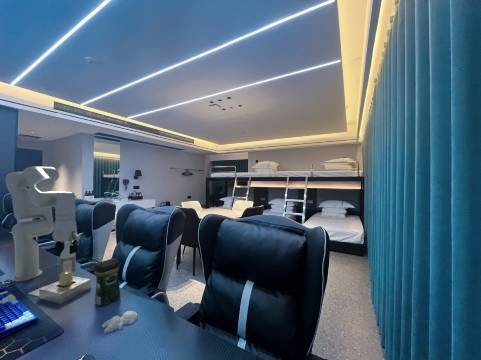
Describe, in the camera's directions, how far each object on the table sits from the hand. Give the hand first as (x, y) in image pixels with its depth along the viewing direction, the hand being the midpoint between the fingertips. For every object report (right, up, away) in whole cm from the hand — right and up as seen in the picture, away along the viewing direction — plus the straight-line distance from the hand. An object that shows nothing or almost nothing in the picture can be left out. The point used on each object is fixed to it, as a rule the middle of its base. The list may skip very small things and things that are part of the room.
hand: (66, 252), depth 104 cm
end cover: (0, -20, 0) cm, 20 cm away
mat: (-13, -20, +2) cm, 24 cm away
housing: (0, -20, 0) cm, 20 cm away
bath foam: (-14, -20, +18) cm, 30 cm away
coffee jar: (+24, -21, -6) cm, 32 cm away
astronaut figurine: (+38, -21, -21) cm, 48 cm away
